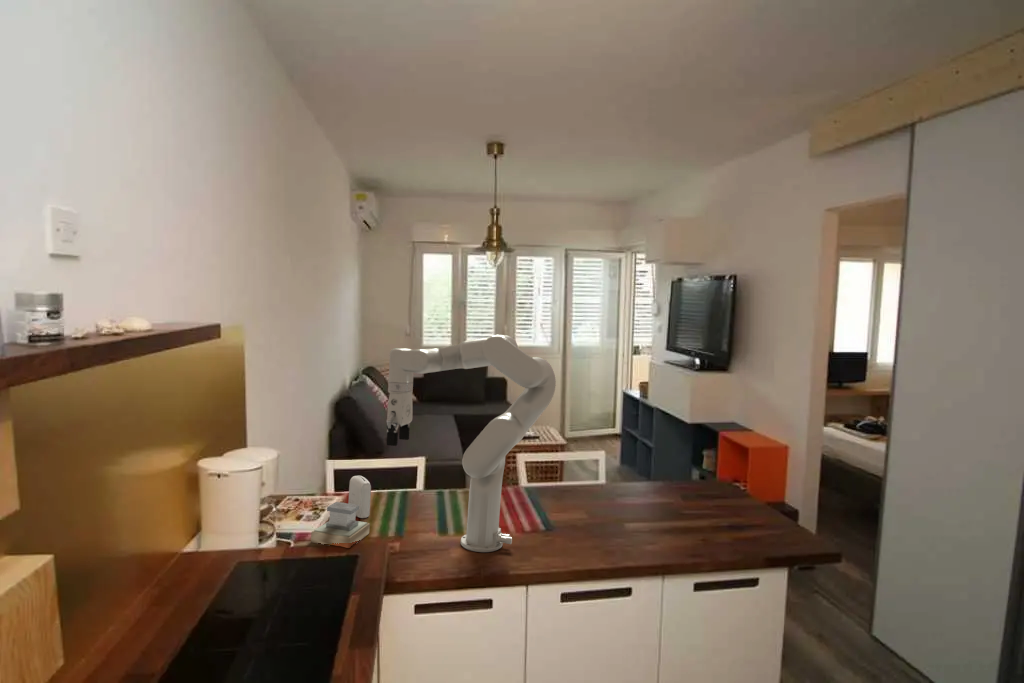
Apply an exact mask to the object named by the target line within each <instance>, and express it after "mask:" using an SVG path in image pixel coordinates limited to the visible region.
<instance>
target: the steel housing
mask: <svg viewBox="0 0 1024 683" xmlns="http://www.w3.org/2000/svg"><path fill="white" fill-rule="evenodd" d="M357 510H359V505H354V504H348V503H346V502H341V501H335V502H333V503H331V504H330V505H328V506H327V507H326V512H329V520H328V521H329V522H328V521H326V522H325V523H326V527H327V528H333V529H339V530H345V531H351V530H352V529H353V528H355V527H356V526H358V521H359V520H356V517H357V516H356V511H357Z"/></svg>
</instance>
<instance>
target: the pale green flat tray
mask: <svg viewBox="0 0 1024 683" xmlns="http://www.w3.org/2000/svg"><path fill="white" fill-rule="evenodd" d="M357 521H358V526H356V527H355V528H353V529H352V530H351V531H345V530H339V529H333V528H327V527H326V523H327V522H329V520H328V521H327V522H325V523H324V524H322V525H320V526H319V527H317V528H315V529H314V530H313V531H312V530H311V533H310V534H311V536H310V543H311V544H312V543H314V544H318V543H321V544H320V545H324V544H332V543H334V544H335V543H336V544H337V543H338V544H339V543H352V542H355V541H359V540H360V541H362V539H364V538H365V537H366V536H368V535H369V534H370V528H371V527H370V526H371V525H370V524H371V523H369V522H366V521H365V522H364V521H359V520H357ZM360 541H359V542H360Z"/></svg>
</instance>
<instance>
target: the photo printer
mask: <svg viewBox="0 0 1024 683" xmlns="http://www.w3.org/2000/svg"><path fill="white" fill-rule="evenodd" d="M371 495H372V485H371V483H370V481H369V480H368V479H367V478H366V477H364V476H362V475H354V476H352V477H351V478H350V480H349V487H348V504H354V505H359V510H357V511H356V517H357V518H360V519H365V518H368V517H369V516H370V514H371V513H370V511H371Z"/></svg>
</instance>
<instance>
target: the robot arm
mask: <svg viewBox="0 0 1024 683" xmlns="http://www.w3.org/2000/svg"><path fill="white" fill-rule="evenodd" d="M489 366H492V367H493V368H495V369H496V370H497V371H499V372H500V373H502V375H504V376H506V377H507V378H508V379H510V380H511V381H512V382H514V383H515V384H516V385H518V386H520V387H521V388H524V390H523V391H522V392H521V393H520V394H519V396H517V398H516V399H515V400H514V402H513V403H512V404H511V405H510V406H509V407H508V408H507V409H506V411H505V412H503V413H502V414H500V415H498V416H496V417H494V418H493V419H491V420H490V421H489V422H488V424H487V425H486V426H485V427H484V428H483V430H481V431H480V433H479V434H478V435H477V436H476V438H475V439H474V440H473V441H472V442H471V443H470V445H469V446H468V447H467V448H466V450H465V451H464V453H463V455H462V461H461V463H462V467H463V470H464V472H465V473H466V475H468V476H469V477H470V480H469V481H470V482H469V491H468V492H469V493H468V503H467V504H468V505H467V519H466V532H465V533H466V534H464V535H462V536H461V538H460V545H461V546H462V548H464V549H466V550H468V551H471V552H478V553H491V552H496V551H498V550H499V549H501V548H502V547H503V544H509V545H512V543H513V537H512V536H511V535H510V534H508V533H507V534H506V533H503V532H502V528H501V527H500V526H499V525H500V514H501V501H502V500H501V499H502V497H501V496H502V488H503V486H502V485H503V478H504V470H505V466H506V456H507V455H508V454H509V452H511V450H512V449H513V448H514V447H515V446H516V445H518V444H519V443H520V442H521V441H522V440H523V438H524V437H525V435H526V433H528V431H529V430H530V428H532V426H533V425H534V424H535V423H536V422H537V420H538V419H539V418H540V417H541V415H542V414H543V413H544V412H545V410H546V409H547V408H548V406H549V405H550V404H551V403H552V402H551V401H552V399H553V398H554V395H555V391H556V386H557V385H556V383H557V380H556V375H555V372H554V369H553V367H552V365H551V364H550V363H549V362H548V361H547V359H544V358H542V357H539V356H533V357H531V356H530V355H529V354H527V353H526V352H524V351H523V350H522V349H520V348H519V346H518V343H517V341H516V340H515V338H514V337H512V336H510V335H507V334H493V335H491V336H489V337H481V338H477V339H476V338H475V339H469V340H467V339H466V340H463V341H461V342H459V343H458V344H455V345H450V346H443V347H436V348H420V349H419V348H417V349H412V348H403V347H402V348H401V347H400V348H398V347H396V348H392V349H390V352H389V363H388V381H387V382H388V386H387V387H388V388H387V393H389V397H388V404H387V416H386V417H387V418H386V433H387V434H386V445H387V446H391V447H396V446H398V441H399V440H402V441H403V440H404V441H408V440H410V427H411V422H412V421H413V416H414V415H413V389H414V388H413V387H414V374H420V375H423V374H428V373H436V372H442V371H449V370H451V371H452V370H455V369H458V370H459V369H464V370H468V369H474V368H484V367H489ZM398 431H399V432H398ZM398 439H399V440H398Z"/></svg>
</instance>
